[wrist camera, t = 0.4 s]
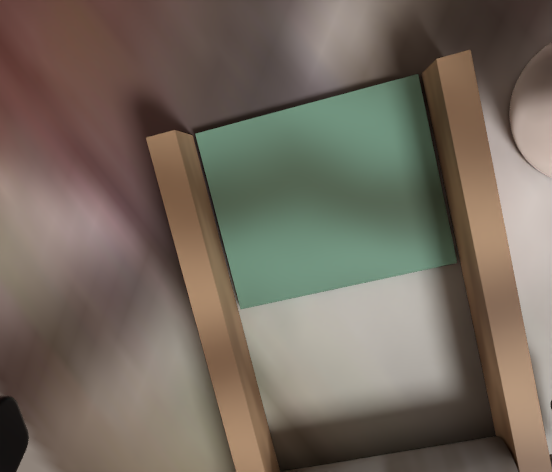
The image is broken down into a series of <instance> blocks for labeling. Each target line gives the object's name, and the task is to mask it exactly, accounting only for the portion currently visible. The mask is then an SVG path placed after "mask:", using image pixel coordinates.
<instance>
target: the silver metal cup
mask: <svg viewBox="0 0 552 472" xmlns="http://www.w3.org/2000/svg"><path fill="white" fill-rule="evenodd" d="M509 119H510V127H511V132H512V135H513V138H514V141H515V143H516V145H517V147H518V149H519V151H520V152H521V154H522V155H523V157H524V158H525V159H526V160H527V161H528V162H529V163H530V164H531V165H532V166H533V167H534V168H535V169H537V170H538V171H539V172H541V173H543V174H544V175H546V176H548V177H550V178H552V42H551V43H549V44H548V45H546V46H545V47H544V48H543V49H541V50H540V51H539V52H538V53H537V54H536V55H535V56H534V57H533V58H532V59H531V60H530V61H529V62H528V64H527V65H526V66H525V68H524V69H523V71H522V72H521V74H520V76H519V78H518V80H517V82H516V84H515V87H514V89H513V92H512V96H511V101H510V109H509Z"/></svg>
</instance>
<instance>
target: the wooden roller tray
mask: <svg viewBox="0 0 552 472" xmlns="http://www.w3.org/2000/svg"><path fill="white" fill-rule="evenodd" d="M422 79H423V84H424V89H425V93H426V98H427V103H428V108H429V113H430V118H431V123H432V127H433V132H434V137H435V142H436V147H437V152H438V157H439V161H440V166H441V171H442V176H443V181H444V186H445V191H446V195H447V200H448V205H449V210H450V215H451V220H452V224H453V229H454V234H455V239H456V244H457V249H458V254H459V258H460V263H461V268H462V273H463V278H464V283H465V288H466V292H467V297H468V302H469V307H470V312H471V317H472V322H473V326H474V331H475V336H476V341H477V346H478V351H479V356H480V360H481V365H482V370H483V375H484V380H485V385H486V389H487V394H488V399H489V404H490V409H491V414H492V419H493V423H494V428H495V433H496V436H494V437H488V438H482V439H476V440H470V441H464V442H458V443H452V444H446V445H440V446H434V447H428V448H422V449H416V450H410V451H403V452H397V453H391V454H385V455H379V456H373V457H367V458H361V459H355V460H349V461H343V462H337V463H331V464H325V465H319V466H313V467H306V468H300V469H294V470H288V471H282V472H552V454H550V455H549V451H548V446H547V441H546V436H545V431H544V426H543V420H542V415H541V410H540V405H539V400H538V395H537V390H536V384H535V379H534V374H533V369H532V364H531V359H530V354H529V348H528V343H527V338H526V333H525V328H524V323H523V318H522V312H521V307H520V302H519V297H518V292H517V287H516V281H515V276H514V271H513V266H512V261H511V256H510V251H509V245H508V240H507V235H506V230H505V225H504V220H503V215H502V209H501V204H500V199H499V194H498V189H497V184H496V179H495V173H494V168H493V163H492V158H491V153H490V148H489V143H488V137H487V132H486V127H485V122H484V117H483V112H482V106H481V101H480V96H479V91H478V86H477V81H476V76H475V70H474V65H473V60H472V55H471V50H467V51H463V52H460V53H456V54H452V55H449V56H445V57H441V58H438V59H436V60H435V61H434V62H433V63H432V64H431V65H430V66H429V67H428V68H427V69H426V70H425V71H424V72H423V73H422ZM195 135H196V139H197V143H198V146H199V150H200V154H201V158H202V162H203V166H204V170H205V173H206V177H207V181H208V185H209V189H210V193H211V197H212V200H213V204H214V208H215V212H216V216H217V220H218V224H219V227H220V231H221V235H222V239H223V243H224V247H225V251H226V254H227V258H228V262H229V266H230V270H231V274H232V278H233V281H234V285H235V289H236V293H237V297H238V301H239V305H240V308H241V309H244V308H249V307H254V306H258V305H263V304H268V303H272V302H277V301H282V300H286V299H291V298H296V297H300V296H305V295H310V294H314V293H319V292H324V291H328V290H333V289H338V288H342V287H347V286H352V285H356V284H361V283H366V282H370V281H375V280H380V279H384V278H389V277H394V276H398V275H403V274H408V273H412V272H417V271H422V270H426V269H431V268H436V267H440V266H445V265H450V264H454V263H457V259H456V255H455V250H454V245H453V240H452V235H451V230H450V226H449V221H448V216H447V211H446V206H445V201H444V197H443V192H442V187H441V182H440V177H439V172H438V168H437V163H436V158H435V153H434V148H433V143H432V139H431V134H430V129H429V124H428V119H427V114H426V109H425V105H424V100H423V95H422V90H421V85H420V80H419V76H418V74H416V75H412V76H408V77H405V78H401V79H397V80H394V81H390V82H386V83H382V84H379V85H375V86H371V87H367V88H364V89H360V90H356V91H353V92H349V93H345V94H341V95H338V96H334V97H330V98H327V99H323V100H319V101H315V102H312V103H308V104H304V105H300V106H297V107H293V108H289V109H286V110H282V111H278V112H274V113H271V114H267V115H263V116H259V117H256V118H252V119H248V120H245V121H241V122H237V123H233V124H230V125H226V126H222V127H219V128H215V129H211V130H207V131H204V132H200V133H196V134H195ZM146 140H147V144H148V147H149V151H150V155H151V159H152V162H153V166H154V170H155V173H156V177H157V181H158V184H159V188H160V192H161V196H162V199H163V203H164V207H165V210H166V214H167V218H168V221H169V225H170V229H171V233H172V236H173V240H174V244H175V247H176V251H177V255H178V258H179V262H180V266H181V270H182V273H183V277H184V281H185V284H186V288H187V292H188V295H189V299H190V303H191V307H192V310H193V314H194V318H195V321H196V325H197V329H198V332H199V336H200V340H201V344H202V347H203V351H204V355H205V358H206V362H207V366H208V369H209V373H210V377H211V381H212V384H213V388H214V392H215V395H216V399H217V403H218V406H219V410H220V414H221V418H222V421H223V425H224V429H225V432H226V436H227V440H228V443H229V447H230V451H231V454H232V458H233V462H234V466H235V469H236V472H280V469H279V465H278V462H277V458H276V454H275V450H274V446H273V442H272V438H271V435H270V431H269V427H268V423H267V419H266V415H265V412H264V408H263V404H262V400H261V396H260V392H259V388H258V385H257V381H256V377H255V373H254V369H253V365H252V361H251V358H250V354H249V350H248V346H247V342H246V338H245V335H244V331H243V327H242V323H241V319H240V315H239V311H238V308H237V304H236V300H235V296H234V292H233V288H232V285H231V281H230V277H229V273H228V269H227V265H226V261H225V258H224V254H223V250H222V246H221V242H220V238H219V234H218V231H217V227H216V223H215V219H214V215H213V211H212V208H211V204H210V200H209V196H208V192H207V188H206V184H205V181H204V177H203V173H202V169H201V165H200V161H199V157H198V154H197V150H196V146H195V142H194V138H193V135H189V134H186V133H183V132H180V131H177V130H172V131H169V132H165V133H161V134H158V135H154V136H150V137H147V138H146ZM551 409H552V401H551Z"/></svg>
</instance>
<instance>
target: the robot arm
mask: <svg viewBox="0 0 552 472" xmlns="http://www.w3.org/2000/svg"><path fill="white" fill-rule="evenodd" d="M28 439H29V436H28V430H27V428H26V425H25V422H24V420H23V417H22V414H21V412H20V409H19V406H18V404H17V402H16V400H15V399H14V398H13V397H11V396H0V472H16V471H17V469H18V466H19V464H20V462H21V460H22V458H23V455H24V453H25V451H26V448H27V445H28Z"/></svg>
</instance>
